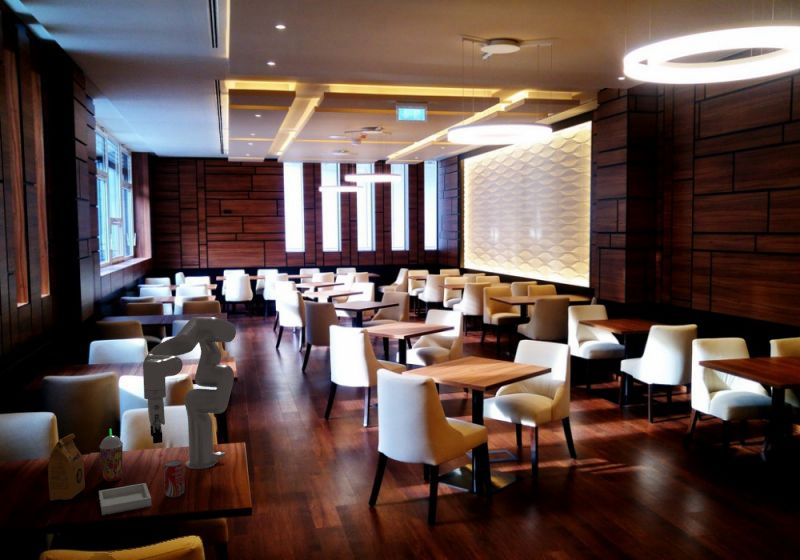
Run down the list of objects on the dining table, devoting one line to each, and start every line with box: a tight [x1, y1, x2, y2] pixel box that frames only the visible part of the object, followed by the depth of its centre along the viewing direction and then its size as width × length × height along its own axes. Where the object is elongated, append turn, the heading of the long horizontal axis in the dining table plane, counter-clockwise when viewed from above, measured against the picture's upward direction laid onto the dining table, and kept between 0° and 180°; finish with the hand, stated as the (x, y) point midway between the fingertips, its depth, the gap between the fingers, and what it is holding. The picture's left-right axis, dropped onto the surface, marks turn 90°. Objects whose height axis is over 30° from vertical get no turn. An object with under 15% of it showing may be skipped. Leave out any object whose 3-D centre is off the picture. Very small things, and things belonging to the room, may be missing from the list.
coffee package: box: [47, 433, 86, 502], centre depth 252 cm, size 10×12×22 cm
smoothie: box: [99, 428, 124, 482], centre depth 268 cm, size 8×8×20 cm
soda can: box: [163, 459, 185, 498], centre depth 252 cm, size 7×7×12 cm
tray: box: [98, 482, 152, 516], centre depth 245 cm, size 16×16×3 cm
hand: (156, 439), depth 252 cm, fingers open, 9 cm apart
